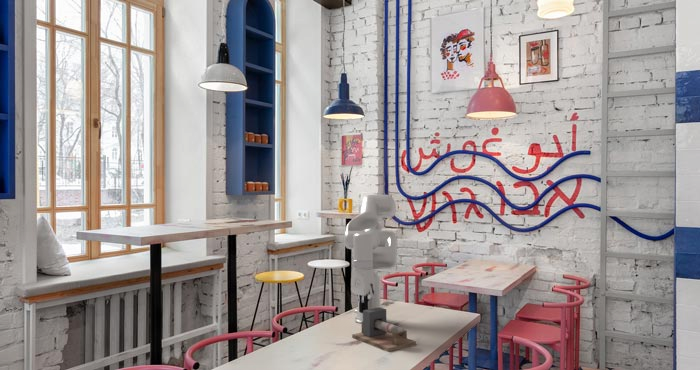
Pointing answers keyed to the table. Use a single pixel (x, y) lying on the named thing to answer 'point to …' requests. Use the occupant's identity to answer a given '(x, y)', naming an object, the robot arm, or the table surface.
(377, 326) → the pipe rig
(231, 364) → the table surface
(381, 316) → the collar
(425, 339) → the table surface
